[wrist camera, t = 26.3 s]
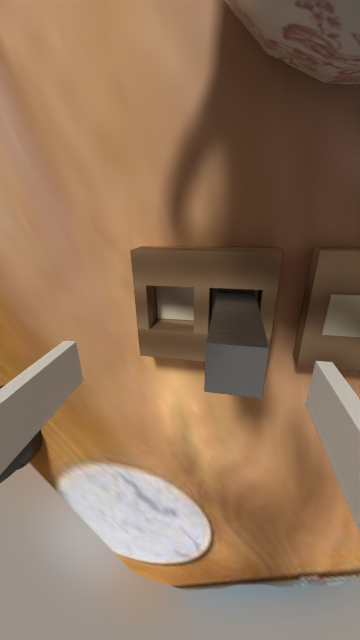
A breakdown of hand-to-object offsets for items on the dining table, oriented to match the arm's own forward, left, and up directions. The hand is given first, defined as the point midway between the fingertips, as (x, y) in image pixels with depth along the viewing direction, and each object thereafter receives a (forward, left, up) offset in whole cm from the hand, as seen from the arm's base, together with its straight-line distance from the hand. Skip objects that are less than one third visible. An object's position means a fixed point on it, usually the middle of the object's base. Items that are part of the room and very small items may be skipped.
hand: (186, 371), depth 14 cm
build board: (0, 0, -13) cm, 13 cm away
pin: (0, -3, -13) cm, 13 cm away
